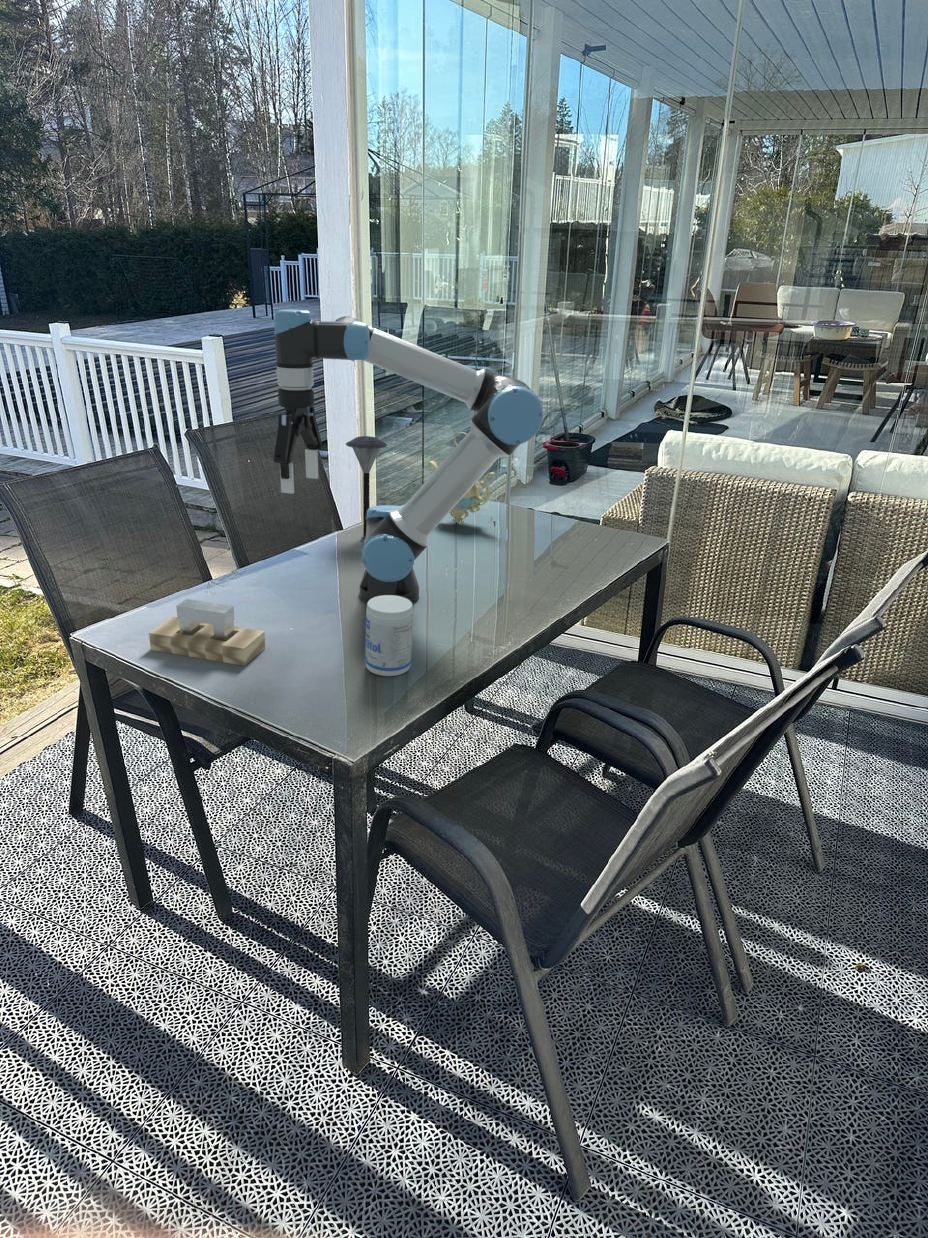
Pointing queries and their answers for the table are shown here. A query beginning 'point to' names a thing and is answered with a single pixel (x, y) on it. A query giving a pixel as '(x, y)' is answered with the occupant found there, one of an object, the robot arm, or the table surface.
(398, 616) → the supplement tub
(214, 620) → the grey u-shaped block
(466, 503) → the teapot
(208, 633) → the wooden block with holes
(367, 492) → the solar garden light
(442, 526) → the table surface
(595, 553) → the table surface
